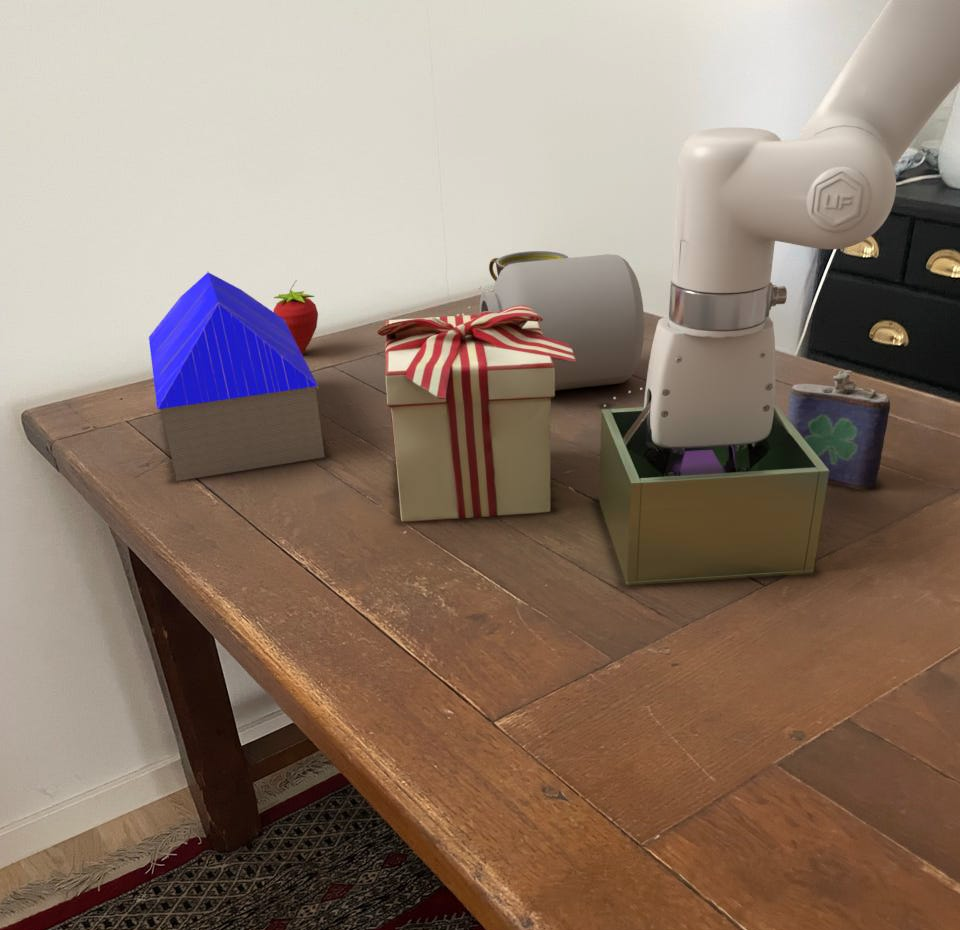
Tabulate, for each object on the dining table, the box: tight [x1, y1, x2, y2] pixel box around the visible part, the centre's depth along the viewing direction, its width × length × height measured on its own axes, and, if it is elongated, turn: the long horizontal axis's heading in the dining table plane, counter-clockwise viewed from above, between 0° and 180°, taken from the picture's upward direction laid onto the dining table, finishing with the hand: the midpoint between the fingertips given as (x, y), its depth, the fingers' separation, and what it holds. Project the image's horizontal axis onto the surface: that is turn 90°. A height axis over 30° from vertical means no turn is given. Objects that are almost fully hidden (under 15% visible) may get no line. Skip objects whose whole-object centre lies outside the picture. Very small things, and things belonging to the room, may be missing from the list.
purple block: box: [680, 450, 726, 476], centre depth 89 cm, size 4×10×4 cm, turn 3°
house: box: [148, 271, 326, 482], centre depth 113 cm, size 25×16×16 cm, turn 17°
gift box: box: [376, 305, 576, 523], centre depth 96 cm, size 17×18×17 cm
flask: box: [786, 370, 891, 491], centre depth 97 cm, size 9×3×11 cm, turn 58°
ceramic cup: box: [488, 250, 571, 282], centre depth 140 cm, size 13×10×10 cm
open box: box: [598, 403, 829, 586], centre depth 89 cm, size 16×16×10 cm
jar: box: [456, 254, 645, 408], centre depth 120 cm, size 19×15×25 cm
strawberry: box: [273, 279, 319, 355], centre depth 136 cm, size 6×8×10 cm
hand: (699, 512), depth 90 cm, fingers closed on purple block, 4 cm apart
